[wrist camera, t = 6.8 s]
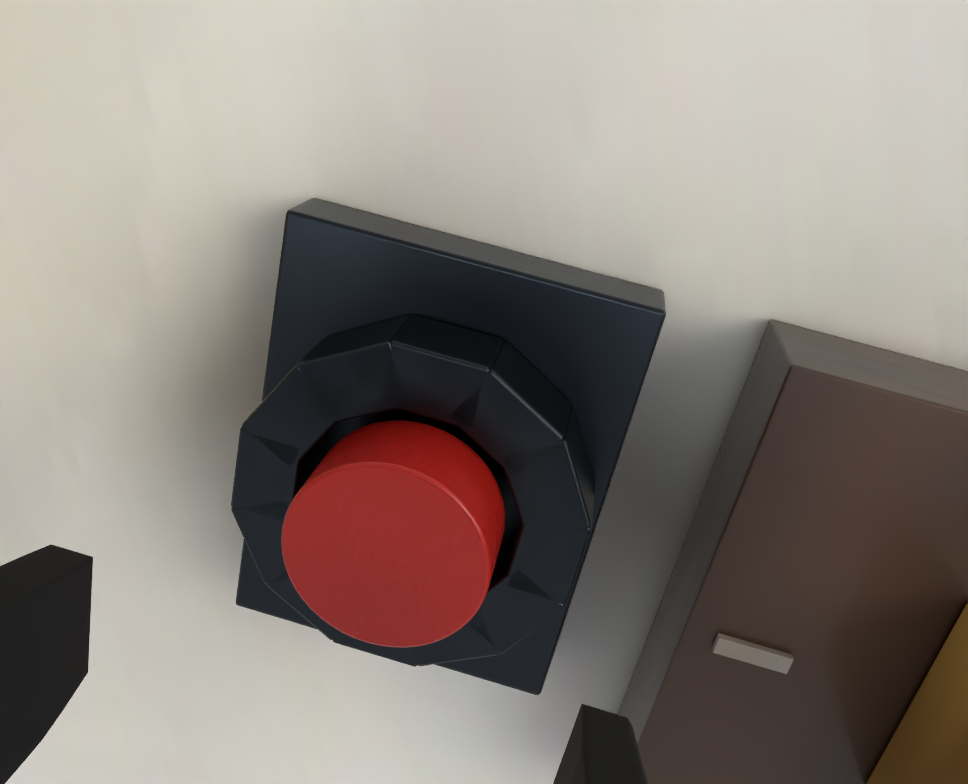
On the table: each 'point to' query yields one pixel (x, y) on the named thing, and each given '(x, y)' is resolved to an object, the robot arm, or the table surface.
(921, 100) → the table surface
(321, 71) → the table surface
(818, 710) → the plate
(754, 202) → the table surface
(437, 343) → the box
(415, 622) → the bell button
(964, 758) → the thumb turn
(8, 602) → the robot arm
